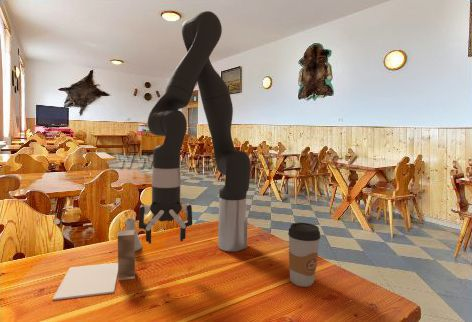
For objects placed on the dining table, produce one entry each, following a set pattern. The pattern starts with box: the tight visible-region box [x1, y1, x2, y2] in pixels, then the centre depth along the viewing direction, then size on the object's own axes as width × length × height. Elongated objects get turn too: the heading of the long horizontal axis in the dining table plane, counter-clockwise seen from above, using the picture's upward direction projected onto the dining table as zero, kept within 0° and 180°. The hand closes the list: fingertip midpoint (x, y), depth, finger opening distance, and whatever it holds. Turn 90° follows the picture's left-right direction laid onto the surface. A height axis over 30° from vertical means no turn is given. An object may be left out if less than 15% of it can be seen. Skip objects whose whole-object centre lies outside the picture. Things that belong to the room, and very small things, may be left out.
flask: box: [124, 217, 143, 252], centre depth 98 cm, size 7×7×10 cm
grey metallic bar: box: [117, 230, 136, 281], centre depth 79 cm, size 4×4×12 cm
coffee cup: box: [287, 222, 321, 288], centre depth 79 cm, size 8×8×15 cm
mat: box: [52, 262, 118, 301], centre depth 77 cm, size 13×16×1 cm
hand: (165, 241), depth 82 cm, fingers open, 8 cm apart
